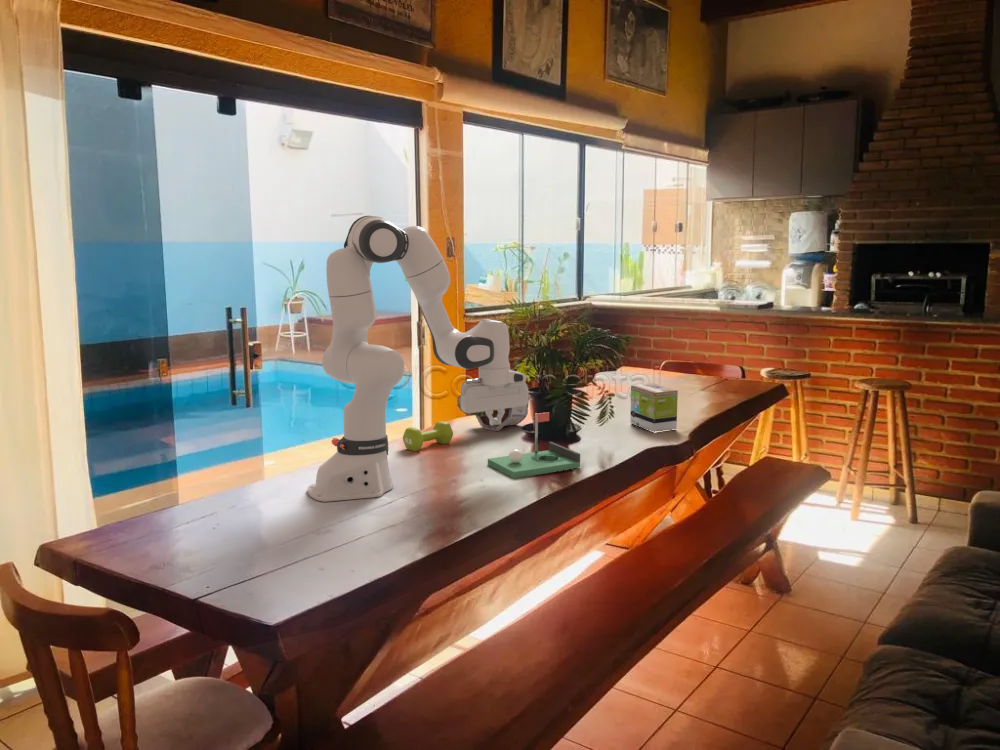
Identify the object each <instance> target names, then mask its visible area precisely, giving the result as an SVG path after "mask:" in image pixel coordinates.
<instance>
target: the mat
mask: <svg viewBox="0 0 1000 750" xmlns="http://www.w3.org/2000/svg"><path fill="white" fill-rule="evenodd" d="M522 455H523V458H522V460H521V461H520V462H519V463H513V462H511V461H510V459H509V455H505V456H504V455H503V456H499V457H498V456H497V457H491V458H487V466H488V467H489V466H490V467H492V468H493V469H495V470H497V471H499V472H501V473H503V474H505V475H507V476H509V477H511V478H513V479H517V478H518V479H519V478H525V477H526V478H527V477H531V476H536V475H537V476H538V475H539V476H540V475H543V474H544V475H545V474H549V473H551V474H552V473H556V472H557V471H558V472H563V470H564V471H570V470H569V469H571V470H575V469H574V468H577V469H579V468H578V467H580V468H581V453H579V452H577V451H574V450H573V449H570V448H567V447H565V446H563V445H560V444H558V443H557V442H556V443H555V442H553V441H548V450H542V451H540V450H539V451H538V453H535V451H533V452H526V453H522Z"/></svg>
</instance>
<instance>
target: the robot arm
mask: <svg viewBox="0 0 1000 750" xmlns="http://www.w3.org/2000/svg"><path fill="white" fill-rule="evenodd" d="M394 261H395V262H396V263H397V264H398V265H399V266H400V268H401V270H402V273H403V275H404V277H405V279H406V281H407V283H408V285H409V286H410V288H411V291H412V292H413V294H414V296H415V299H416V301H417V304H418V307H419V309H420V311H421V313H422V317H423V319H424V320H425V324H426V325H427V328H428V331H429V332H430V335H431V341H432V350H433V354H434V357H435V358H436V360H437V361H438V362H439V363H440V364H442V365H445V366H453V367H457V368H458V369H459V368H461V369H465V370H473V369H476V368H478V378H473V379H465V380H464V382H462V384H461V385H460V393H461V394H462V395H461V394H460V395H461V410H462V411H463V412H465V413H475V412H483V411H486V415H487V416H488V418H489V423H490V425H491V426H493V425H500V424H501V418H502V417H503V415H504V413H505V408H513V407H520V406H526V405H527V404H528V402H529V401H530V394H529V387H528V383H526V380H527V375H526V374H525V373H522V372H520V371H516V370H513V369H511V363H510V361H509V356H510V350H511V349H510V334H509V329H508V326H507V324H506V323H505V322H503V321H499V320H495V319H494V320H493V319H488V318H485V319H484V318H483V319H480V321H479V322H478V323H477V324H476V325H475V326H473V327H472V328H471V329H469V330H467V331H464V332H461V331H459V330H458V329H457V328H455V327H454V326H453V324H452V323H451V322H452V321H451V320H450V317H449V314H448V312H447V310H446V308H445V306H444V302H443V295H445V293H446V292H447V291H448V289H449V287H450V285H451V281H452V280H451V276H450V272H449V269H448V268H449V267H448V265H447V263H446V261H445V259H444V257H443V256H442V254H441V252H440V250H439V248H438V246H437V245H436V243H435V241H434V240H433V239H432V237H431V236H430V235H429V233H428V231H426V229H425V228H424V227H421V226H419V225H411V226H406V227H404V228H400V227H398V226H397V225H395V224H394V223H393V222H391V221H389V220H387V219H385V218H383V217H380V216H375V215H364V216H361V217H358V218H357V219H356V220H355V221H354V222H352V224H351V226H350V228H349V229H348V232H347V235H346V238H345V241H344V244H343V248H338V249H336V250H334V251H333V252H332V253H330V254H329V255H328V257H327V260H326V286H327V292H328V298H329V299H328V300H329V304H330V310H331V311H330V312H331V317H332V318H331V319H332V336H331V341H330V344H329V345H328V347H327V348H326V349H325V351H324V353H323V354H322V355H323V356H322V362H321V363H322V368H323V370H324V372H325V374H327V376H329V377H331V378H333V380H336V381H338V382H341V383H346V384H351V385H354V393H353V396H352V399H351V400H350V401H349V402H347V403H346V404H345V405H344V406H343V407H344V408H343V411H342V414H343V415H342V416H343V418H342V421H343V436H342V437H341V438H340V439H339V438H338V437H333V438H332V439H331V441H330V443H331V444H332V445H333V446H334V447H336V453H334V454H333V455H332V456H331V457H329V458H328V459H327V460H326V461H325V462H323V463H322V464H321V465H320V466H319V467H318V469H317V471H316V479H315V483H312V484H310V485H308V487H307V494H308V496H310V498H312V499H314V500H316V501H319V502H323V503H325V502H326V503H327V502H334V501H335V502H337V501H338V502H339V501H347V500H357V499H367V498H368V499H369V498H379V497H381V496H383V495H384V494H385V493H386V492H389V491H390V490H392V489H393V488H394V486H395V485H394V483H393V480H392V476H391V472H390V467H389V460H388V459H389V458H388V455H389V439H388V435H387V427H386V426H387V425H386V424H387V419H386V418H387V405H388V404H387V403H388V401H389V396H390V394H391V393H392V392H391V391H392V390H393V388H394V387H395V386H396V385H397V384H399V383H400V381H401V380H402V378H403V376H404V374H405V362H404V358H403V356H402V354H401V353H400V352H398V350H395V349H392V348H391V347H388V346H385V345H382V344H381V345H379V344H371V343H369V342H368V335H369V334H368V333H369V329H370V327H371V326H373V324H374V323H375V322H376V319H377V311H376V306H375V298H374V294H373V287H372V281H371V277H370V276H371V269H372V265H373V264H374V263H377V264H385V263H390V262H394ZM528 405H529V404H528ZM461 410H460V411H461ZM493 410H497V411H498V415H497V418H493V416H492V414H493ZM462 411H461V412H462ZM463 412H462V413H463ZM465 413H464V414H465Z"/></svg>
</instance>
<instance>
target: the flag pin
mask: <svg viewBox="0 0 1000 750" xmlns="http://www.w3.org/2000/svg"><path fill="white" fill-rule="evenodd" d="M534 416H535V417H534V452H535V453H538V452H539V450H538V447H539V446H538V445H539V444H538V443H539V442H538V441H539V439H538V438H539V437H538V435H539V423H544V422H549V421H550V412H541V413H540V412H539V413H537V412H535V414H534Z"/></svg>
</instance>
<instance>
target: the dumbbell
mask: <svg viewBox="0 0 1000 750" xmlns="http://www.w3.org/2000/svg"><path fill="white" fill-rule="evenodd" d="M402 435H403V436H402V440H403V444H404V447H405V448H406V449H407V450H409V451H411V452H418V451H420V450H421V448H422V446H423V444H424V442H425V443H426V442H428V441H433V440H435V441H436V443H438V444H442V445H448V444H450V442H451V441H452V439H453V437H454V431H453V428H452V427H451V424H450V422H447V421H443V420H439V421H437V422H436V423H435V424H434V426H433V429H432V430H426V431H423V432H422V431H421V430H420V429H419V428H416V427H412V426H411V427H407V428H406V429H405V430H404V433H403V434H402Z"/></svg>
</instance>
